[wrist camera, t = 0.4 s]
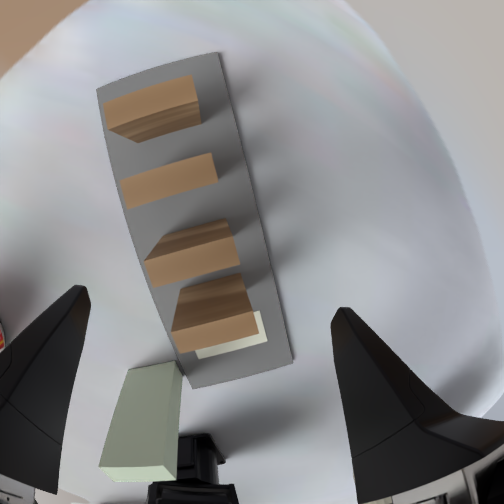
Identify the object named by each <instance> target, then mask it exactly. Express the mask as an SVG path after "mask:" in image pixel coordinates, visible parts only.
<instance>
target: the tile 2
mask: <svg viewBox="0 0 504 504" xmlns="http://www.w3.org/2000/svg"><path fill="white" fill-rule="evenodd" d="M144 264H145V267H146V270H147V272H148V275H149V278H150V281H151V283H152V286H153V288H155V287H159V286H163V285H166V284H170V283H174V282H177V281H181V280H185V279H188V278H192V277H196V276H199V275H203V274H207V273H210V272H214V271H218V270H221V269H225V268H229V267H232V266H236V265H239V264H240V261H239V257H238V254H237V250H236V246H235V243H234V239H233V235H232V233H231V230H230V228H229V225H228V223H227V220H226V218H224V219H220V220H216V221H213V222H209V223H205V224H202V225H198V226H195V227H191V228H188V229H184V230H181V231H177V232H174V233H171V234H167V235H164V236H162V238H161V239H160V240H159V241H158V243H157V244H156V245H155V247H154V248H153V249H152V251H151V252H150V253H149V255H148V256H147V257H146V259H145V260H144Z"/></svg>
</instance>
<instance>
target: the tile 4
mask: <svg viewBox="0 0 504 504" xmlns="http://www.w3.org/2000/svg"><path fill="white" fill-rule="evenodd" d="M182 378H183V376H182V374H181V372H180V370H179V368H178V366H177V364H176V362H175V361H171V362H166V363H161V364H157V365H151V366H146V367H141V368H136V369H130V370H128V372H127V375H126V378H125V381H124V384H123V387H122V390H121V393H120V396H119V399H118V402H117V405H116V408H115V411H114V414H113V418H112V421H111V424H110V428H109V431H108V434H107V438H106V441H105V445H104V448H103V452H102V456H101V459H100V463H99V468H100V469H101V470H102V471H103V472H104V473H105V474H106V475H107V476H108V477H109V478H110V479H111V480H112V481H114V482H152V481H170V480H176V476H177V450H178V432H179V416H180V402H181V389H182Z"/></svg>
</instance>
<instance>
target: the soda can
mask: <svg viewBox="0 0 504 504" xmlns="http://www.w3.org/2000/svg"><path fill="white" fill-rule="evenodd" d="M4 347H5V338H4V331H3V328H2V325H1V323H0V352H1V351H2V350H3V349H4Z"/></svg>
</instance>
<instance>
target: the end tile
mask: <svg viewBox="0 0 504 504" xmlns="http://www.w3.org/2000/svg"><path fill="white" fill-rule="evenodd" d="M103 108H104V113H105V119H106V124H107V129H108V130H109V131H112V132H114V133H116V134H118V135H121V136H123V137H125V138H127V139H129V140H132V141H134V142H136V143H140V142H143V141H146V140H149V139H152V138H156V137H159V136H162V135H165V134H168V133H172V132H175V131H179V130H182V129H186V128H189V127H193V126H197V125H200V124H201V117H200V110H199V104H198V98H197V94H196V90H195V86H194V82H193V78H192V74H191V75H187V76H183V77H180V78H176V79H172V80H169V81H165V82H162V83H159V84H156V85H152V86H149V87H146V88H143V89H140V90H137V91H134V92H132V93H129V94H126V95H123V96H121V97H118V98H115V99H113V100H110V101H108V102H105V103H103Z"/></svg>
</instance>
